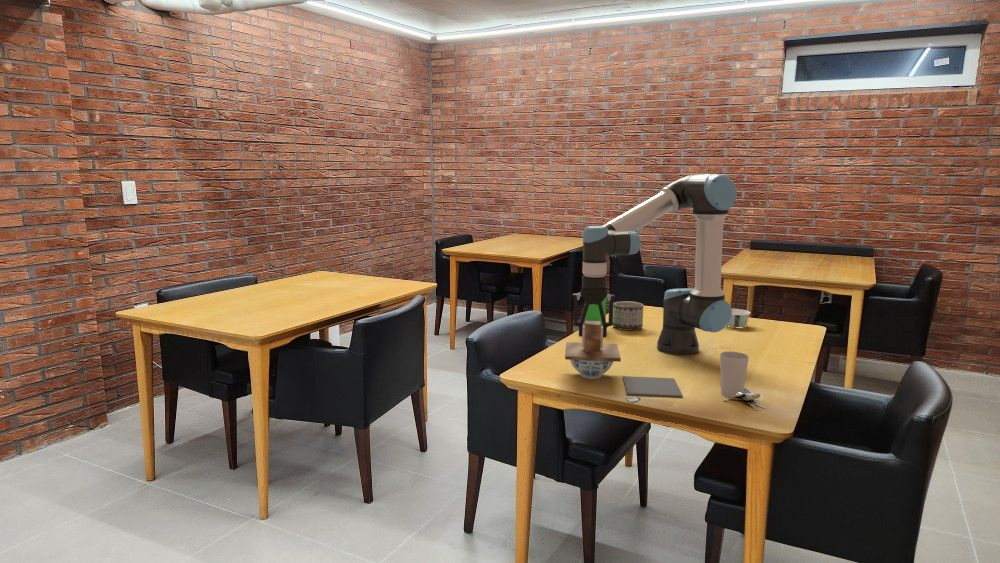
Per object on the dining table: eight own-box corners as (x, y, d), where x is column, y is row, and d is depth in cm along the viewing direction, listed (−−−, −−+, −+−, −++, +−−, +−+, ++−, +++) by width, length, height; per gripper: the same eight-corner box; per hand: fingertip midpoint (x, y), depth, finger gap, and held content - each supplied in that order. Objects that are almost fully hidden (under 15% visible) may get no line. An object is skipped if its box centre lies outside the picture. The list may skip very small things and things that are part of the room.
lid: (617, 346, 204) (618, 317, 203) (620, 361, 188) (621, 329, 186) (565, 344, 206) (566, 316, 205) (565, 359, 190) (565, 328, 188)
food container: (754, 329, 261) (755, 314, 260) (725, 329, 261) (726, 314, 260) (743, 323, 273) (744, 308, 272) (716, 322, 273) (717, 308, 272)
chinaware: (603, 386, 188) (604, 362, 187) (559, 378, 196) (560, 354, 195) (621, 373, 201) (622, 350, 199) (579, 366, 209) (580, 344, 207)
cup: (712, 389, 185) (715, 351, 183) (738, 389, 186) (741, 351, 184) (724, 399, 177) (727, 359, 175) (751, 398, 178) (754, 358, 176)
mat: (674, 380, 194) (674, 378, 194) (682, 397, 179) (682, 395, 178) (622, 377, 196) (622, 376, 196) (627, 395, 180) (627, 393, 180)
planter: (611, 324, 270) (612, 300, 268) (641, 325, 268) (642, 301, 267) (613, 330, 258) (613, 306, 256) (643, 332, 256) (644, 307, 254)
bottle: (582, 332, 255) (583, 272, 251) (587, 327, 263) (588, 270, 259) (603, 334, 252) (604, 274, 248) (607, 329, 260) (609, 271, 256)
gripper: (622, 274, 196) (619, 344, 199) (565, 272, 198) (564, 342, 201) (624, 277, 188) (621, 350, 192) (565, 276, 190) (563, 348, 194)
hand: (592, 346), depth 197 cm, fingers closed on lid, 5 cm apart
